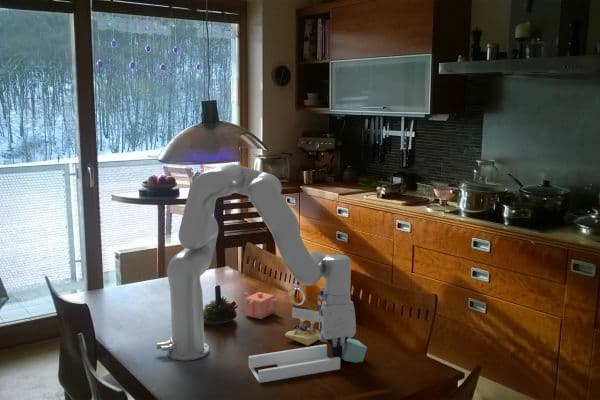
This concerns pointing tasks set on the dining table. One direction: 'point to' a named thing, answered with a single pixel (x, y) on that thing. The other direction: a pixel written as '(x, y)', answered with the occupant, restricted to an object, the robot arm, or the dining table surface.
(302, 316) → the figurine with sign
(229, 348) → the dining table surface
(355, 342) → the green block
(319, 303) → the supplement bottle
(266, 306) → the pink cube
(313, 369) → the trough
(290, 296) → the ring
